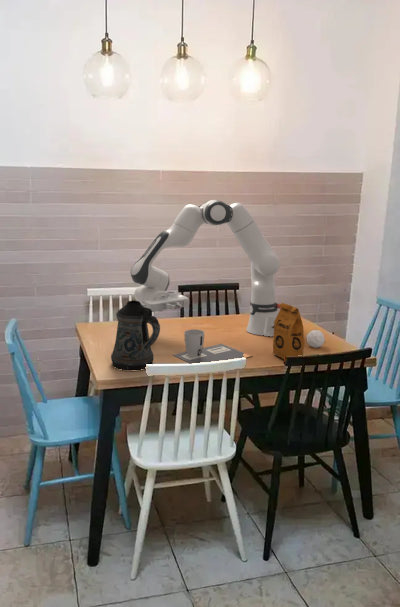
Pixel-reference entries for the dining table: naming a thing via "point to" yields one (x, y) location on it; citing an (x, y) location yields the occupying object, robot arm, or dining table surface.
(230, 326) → the dining table surface
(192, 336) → the cup
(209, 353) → the label sheet
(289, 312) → the coffee package
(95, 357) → the dining table surface
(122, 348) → the beer stein
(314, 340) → the geometric ball
